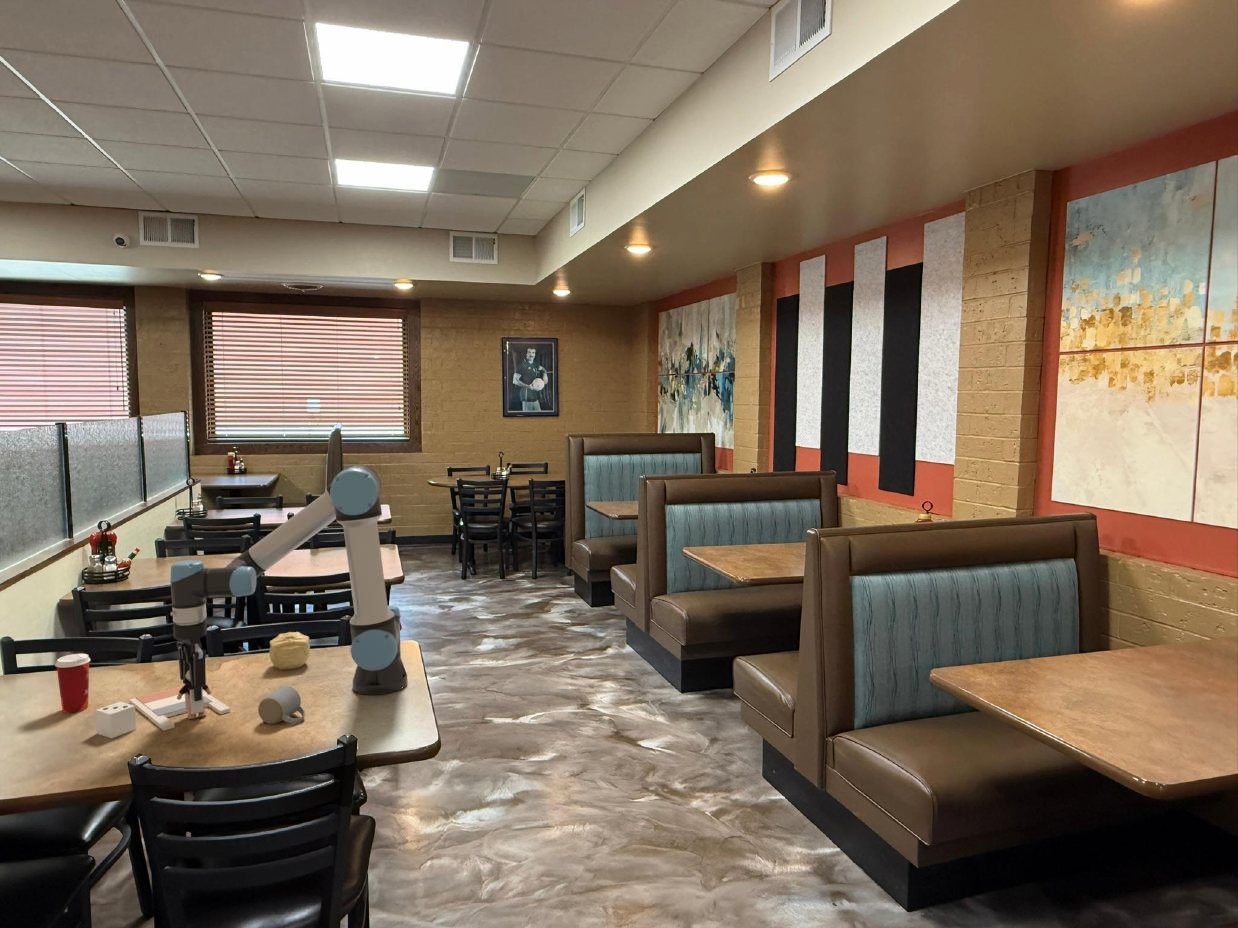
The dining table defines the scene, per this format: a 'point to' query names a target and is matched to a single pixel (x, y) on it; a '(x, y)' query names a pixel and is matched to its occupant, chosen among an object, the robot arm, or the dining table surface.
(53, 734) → the dining table surface
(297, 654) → the pale yellow rounded lump
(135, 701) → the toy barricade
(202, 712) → the grandmother figurine
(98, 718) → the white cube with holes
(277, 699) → the ceramic mug
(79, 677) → the paper cup
